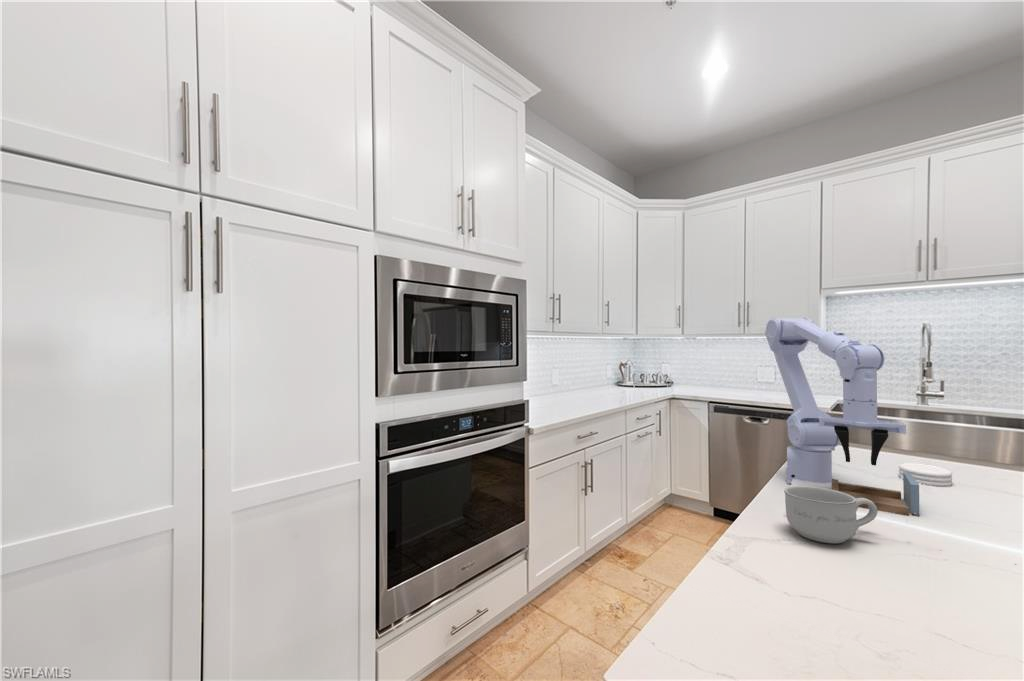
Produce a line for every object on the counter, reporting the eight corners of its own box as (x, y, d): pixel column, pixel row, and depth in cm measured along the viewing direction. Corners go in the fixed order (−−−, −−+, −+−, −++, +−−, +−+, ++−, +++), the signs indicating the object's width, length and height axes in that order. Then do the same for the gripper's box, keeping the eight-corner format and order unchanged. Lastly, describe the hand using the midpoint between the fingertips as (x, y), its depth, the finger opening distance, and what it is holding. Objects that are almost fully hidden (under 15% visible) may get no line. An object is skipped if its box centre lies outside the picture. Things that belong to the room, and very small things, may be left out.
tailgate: (911, 517, 83) (911, 484, 83) (903, 501, 92) (903, 471, 92) (919, 519, 82) (919, 485, 82) (910, 503, 91) (910, 472, 91)
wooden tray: (832, 509, 90) (832, 492, 90) (831, 493, 100) (831, 478, 100) (909, 523, 83) (909, 505, 83) (900, 505, 92) (900, 489, 92)
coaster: (902, 473, 117) (902, 460, 117) (954, 482, 109) (954, 468, 109) (895, 480, 110) (895, 466, 110) (950, 490, 103) (950, 476, 103)
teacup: (787, 542, 75) (787, 496, 75) (781, 519, 85) (781, 479, 85) (889, 560, 69) (889, 511, 69) (870, 534, 78) (870, 490, 78)
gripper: (818, 399, 93) (819, 461, 93) (908, 404, 85) (908, 473, 84) (818, 396, 99) (819, 454, 99) (902, 401, 90) (903, 465, 90)
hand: (860, 462), depth 92 cm, fingers open, 4 cm apart
